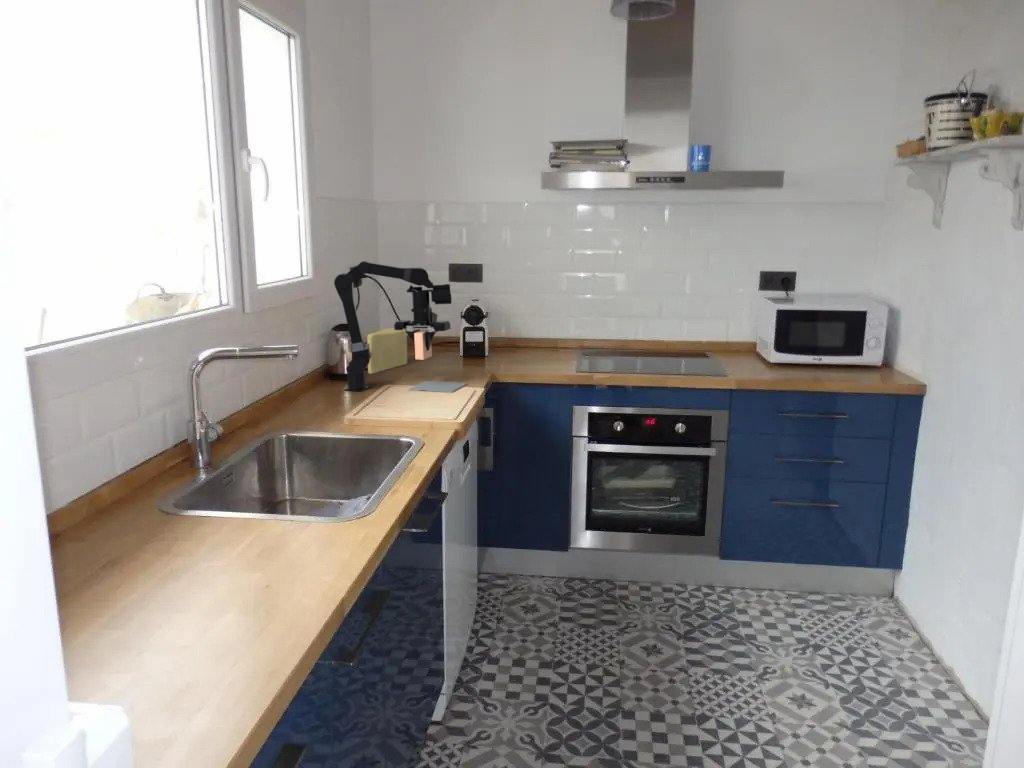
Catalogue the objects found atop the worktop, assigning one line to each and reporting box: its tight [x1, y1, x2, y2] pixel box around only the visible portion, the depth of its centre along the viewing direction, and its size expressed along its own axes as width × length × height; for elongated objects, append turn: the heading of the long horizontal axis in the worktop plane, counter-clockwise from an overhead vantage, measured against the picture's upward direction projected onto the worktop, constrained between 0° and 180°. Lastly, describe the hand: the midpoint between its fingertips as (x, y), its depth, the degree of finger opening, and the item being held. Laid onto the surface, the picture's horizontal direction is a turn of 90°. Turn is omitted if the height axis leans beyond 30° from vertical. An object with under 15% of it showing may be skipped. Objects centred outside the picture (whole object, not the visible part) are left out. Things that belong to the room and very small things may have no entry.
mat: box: [408, 380, 468, 393], centre depth 260 cm, size 14×16×1 cm
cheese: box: [366, 327, 408, 375], centre depth 294 cm, size 22×10×15 cm, turn 160°
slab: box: [414, 329, 433, 361], centre depth 259 cm, size 7×3×9 cm, turn 162°
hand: (423, 350), depth 259 cm, fingers closed on slab, 3 cm apart
